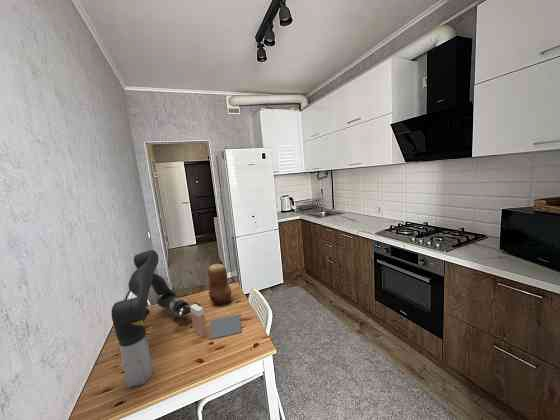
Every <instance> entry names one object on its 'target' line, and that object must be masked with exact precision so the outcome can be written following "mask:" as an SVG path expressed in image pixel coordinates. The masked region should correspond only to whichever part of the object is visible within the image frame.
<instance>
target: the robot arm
mask: <svg viewBox="0 0 560 420" xmlns="http://www.w3.org/2000/svg"><path fill="white" fill-rule="evenodd" d="M133 263H134V267H136V269H135V271H133V273H132V275H131V276H130V279H129V281H128V286H127V287H128V288H129V291H130V292H131V293H132V294H133V295H134V296H135V297H133V298H129V299H124V300H119V301H116V302H114V304H113V305H112V308H111V320H112V324H113V327H114V330H115V331H114V332H115V335H116V339H117V341H118V345H119V350H120V354H121V360H122V365H123V367H122V368H123V373H124V378H125V383H126V387H127V389H129V388H130V389H131V388H134V387H137V386H140V385H144V384H146V382H147V381H148V380H149V379H150V378H151V377H152V375H153V373H154V367H153V362H152V358H151V351H150V346H149V341H148V335H147V329H146V327H145V325H144V324H143V325H144V326H143V325H136V324H132V323H135V322H139V321H141V320H142V319H143V318H144V317H145V314H146V309H148V301H149V295H150V293H149V292H150V291H151V290H150V289H151V286H152V289H153V290H154V292H155V294H156V295H157V296H159V297H158V298H157V305H158V306H159V307H160V308H163V309H169V310H171V311H172V313H171V318H172V319H173V321H175V322H178V321H181V322H184V323H185V322H187V317H185V316H186V315H187V314H191V311H190V306H192V305H194V304H197V305H198V306H200V307H201V304H200V303H198V302H196V301H194V302H193V304H190V303H188V302H187V301H185V300H184V299H182V298H179V297H178V296H177V294H176V292H175V291H173V290H172V289H171V288H170V287H169V285H168V284H167V282H166V280H165V279H164V277H162V276H161V275H159V274H156V273H155V270H156V269H157V266H158V264H159V254H158V252H157V251H155V250H153V249H151V250H146V251H144V252H140V253H138V254H136V255H134V257H133ZM145 318H146V317H145ZM145 318H144V319H145Z"/></svg>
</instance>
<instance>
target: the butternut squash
mask: <svg viewBox="0 0 560 420" xmlns="http://www.w3.org/2000/svg"><path fill="white" fill-rule="evenodd" d="M207 275H208V283H209V290H208V296H209V299H210V301H211V302H213V303H214V304H220V305H223V304H225V303H228V301H229V300H230V299H231V296H232V289H231V287H230V285H229V283H228V272H227V268H226V266H225V265H224V264H221V263H215V264H212V265H211V266H209V267H208V269H207Z"/></svg>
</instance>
